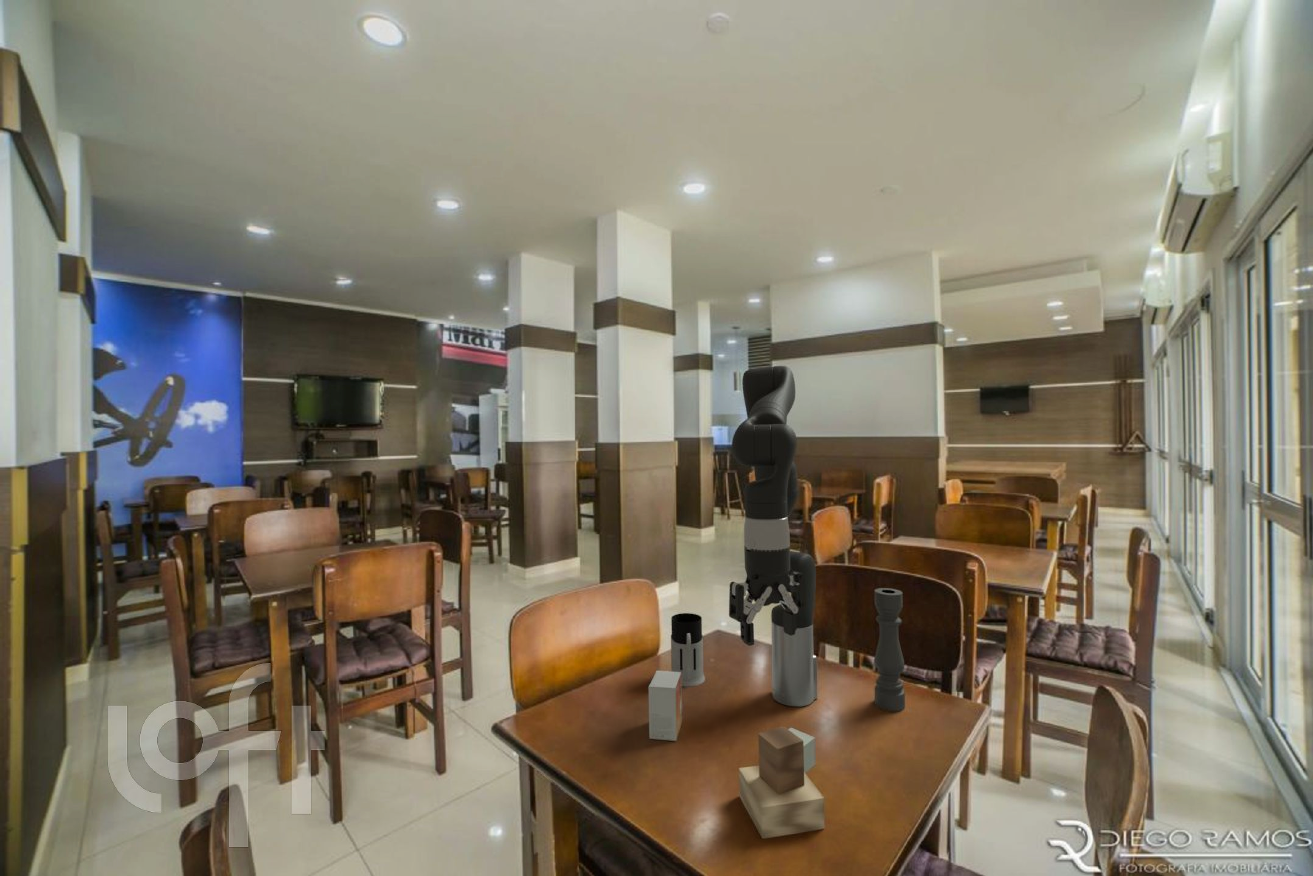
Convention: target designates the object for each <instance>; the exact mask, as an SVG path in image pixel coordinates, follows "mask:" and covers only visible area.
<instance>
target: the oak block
mask: <svg viewBox="0 0 1313 876" xmlns="http://www.w3.org/2000/svg"><path fill="white" fill-rule="evenodd" d="M738 777H739V778H738V785H739V787H738V788H739V789H738V791H739V793H738V794H739V798H740V799H741V803H742V805H743V806H744V809H746V812H747V813H748V815H749V817H750V819H751V820H752V822H753V824H754V826H755V828H756V830H757V832H758V833H759V836H761V837H760V838H761V839H762V840H763V839H769V838H770V839H771V838H775V837H782V836H789V835H793V834H795V835H796V834H803V833H806V832H813V831H819V830H825V797H824V796H823V795H822V794H821V792H820V791H819V789H818V788H817V787H816V786H815V784H814V783H813V781H812V780H811V779H810V778H809V776H808V775H807V774H806V773H804V785H803V786H801V787H798V788H795V789H792V790H790V791H787V792H784V793H781V794H777V793H776V792H775V791H774V790H773V789H772V788H771V787H770V786H769V785H768V784H767V783H766V782H765V781H763V780H762V779H761V778H760V777H759V765H753V766H745V767H744V766H743V767H738Z"/></svg>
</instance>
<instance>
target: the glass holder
mask: <svg viewBox="0 0 1313 876" xmlns="http://www.w3.org/2000/svg"><path fill="white" fill-rule="evenodd" d="M670 620H671V621H670V622H671V623H670V625H671V635H670V659H671V660H670V662H671V663H670V664H671V665H670V666H671V667H670V668H671V669H670V671H671V672H681V673H682V687H696V686H699V685H702V684H703V683H704V682H705V681H706V677H705V675H704V649H703V648H704V646H703V645H704V644H703V641H704V639H703V637H704V636H703V630H702V629H703V626H702V625H703V624H702V623H703V619H702V616H701V615H699V614H696V613H689V612H685V613H684V612H683V613H682V612H681V613H677V614H674V615H672V616H671V619H670Z"/></svg>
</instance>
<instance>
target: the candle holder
mask: <svg viewBox="0 0 1313 876" xmlns="http://www.w3.org/2000/svg"><path fill="white" fill-rule="evenodd" d="M903 603H904V602H903V591H902V590H899V589H895V588H891V587H890V588H888V587H878V588H876V589H874V606H875V609H876V611H877V613H878V614H879V615H877V616H876V617H875V620H876V622H877V623H878V624H879V639H878V643H877V645H876V646H877V647H876V651H875V656H874V661H873V662H874V665H875V667H876V669H877V671H878V674H879V675H878V677H877V678H876V679H875V686H874V704H875V705H876V707H878V708H879V709H882V710H884V711H888V712H902V711H904V710H905V709H906V691H905V690H904V683H903V682H902V680H901V678H900V677H901V674H902V673H903V671H904V667H905V660H904V656H903V652H902V648H901V644H900V640H899V626H900V625H902V619H901V618H900V617H899V616H900V613H901V612H902V609H903Z"/></svg>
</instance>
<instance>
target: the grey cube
mask: <svg viewBox="0 0 1313 876" xmlns="http://www.w3.org/2000/svg"><path fill="white" fill-rule="evenodd" d="M787 729H788V730H789V731H791V732H792V733H794V734H795V735H796V736H798V737H799V738H800V739H802V740H803V747H804V773H805V774H806V773H808V772H809V771H810V770H811V769H813V767H815V766H816V737H814V736H812V735H809V734H808V733H805V732H802V731H800V730H797V729H796V728H793V727H789V728H787Z"/></svg>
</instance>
